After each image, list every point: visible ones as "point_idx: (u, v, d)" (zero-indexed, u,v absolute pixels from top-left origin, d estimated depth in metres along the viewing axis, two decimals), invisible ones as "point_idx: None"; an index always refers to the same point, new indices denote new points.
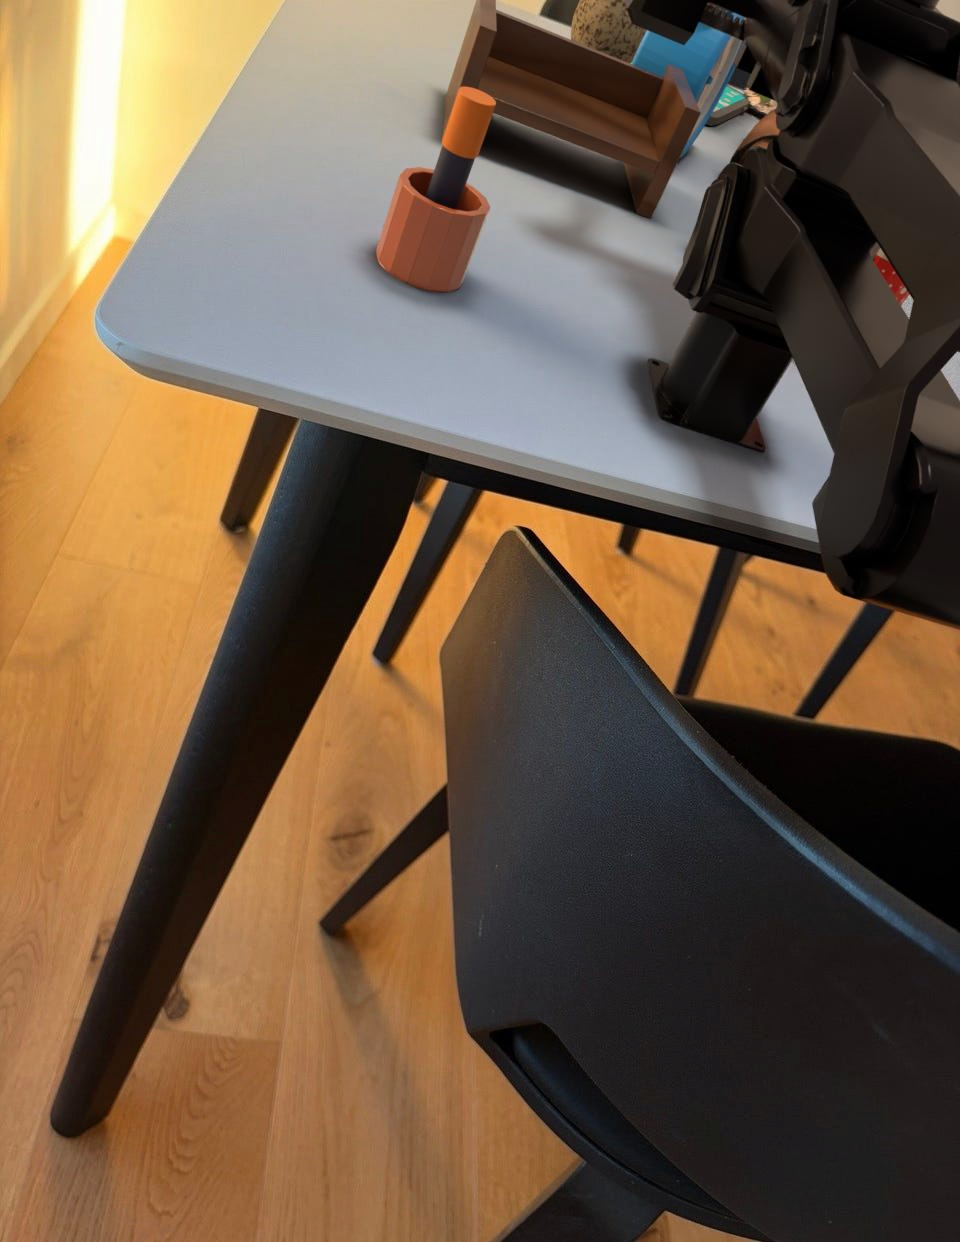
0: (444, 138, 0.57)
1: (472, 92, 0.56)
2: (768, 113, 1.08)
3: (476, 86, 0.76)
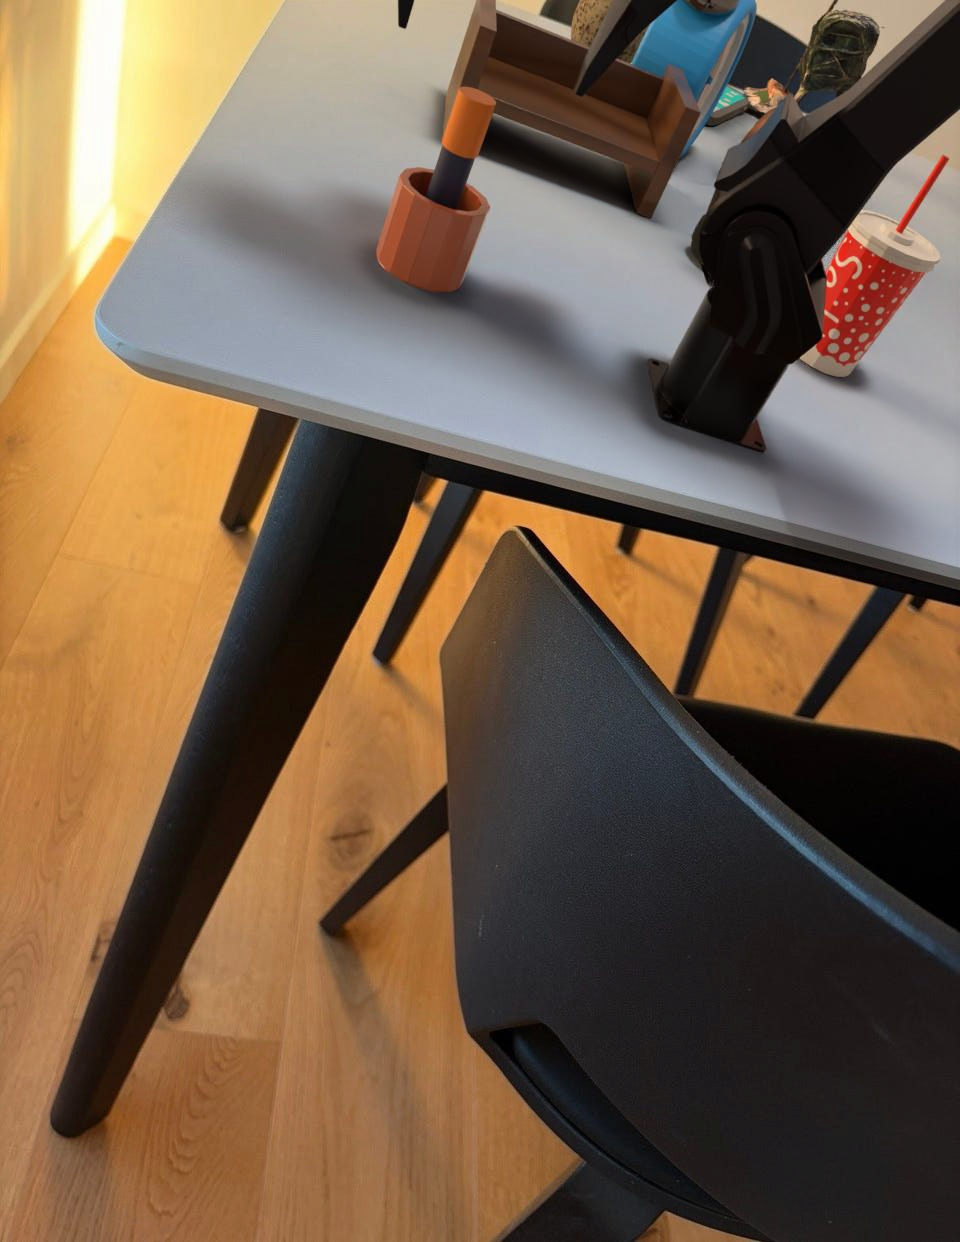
0: (444, 138, 0.57)
1: (472, 92, 0.56)
2: (767, 112, 1.08)
3: (476, 86, 0.76)
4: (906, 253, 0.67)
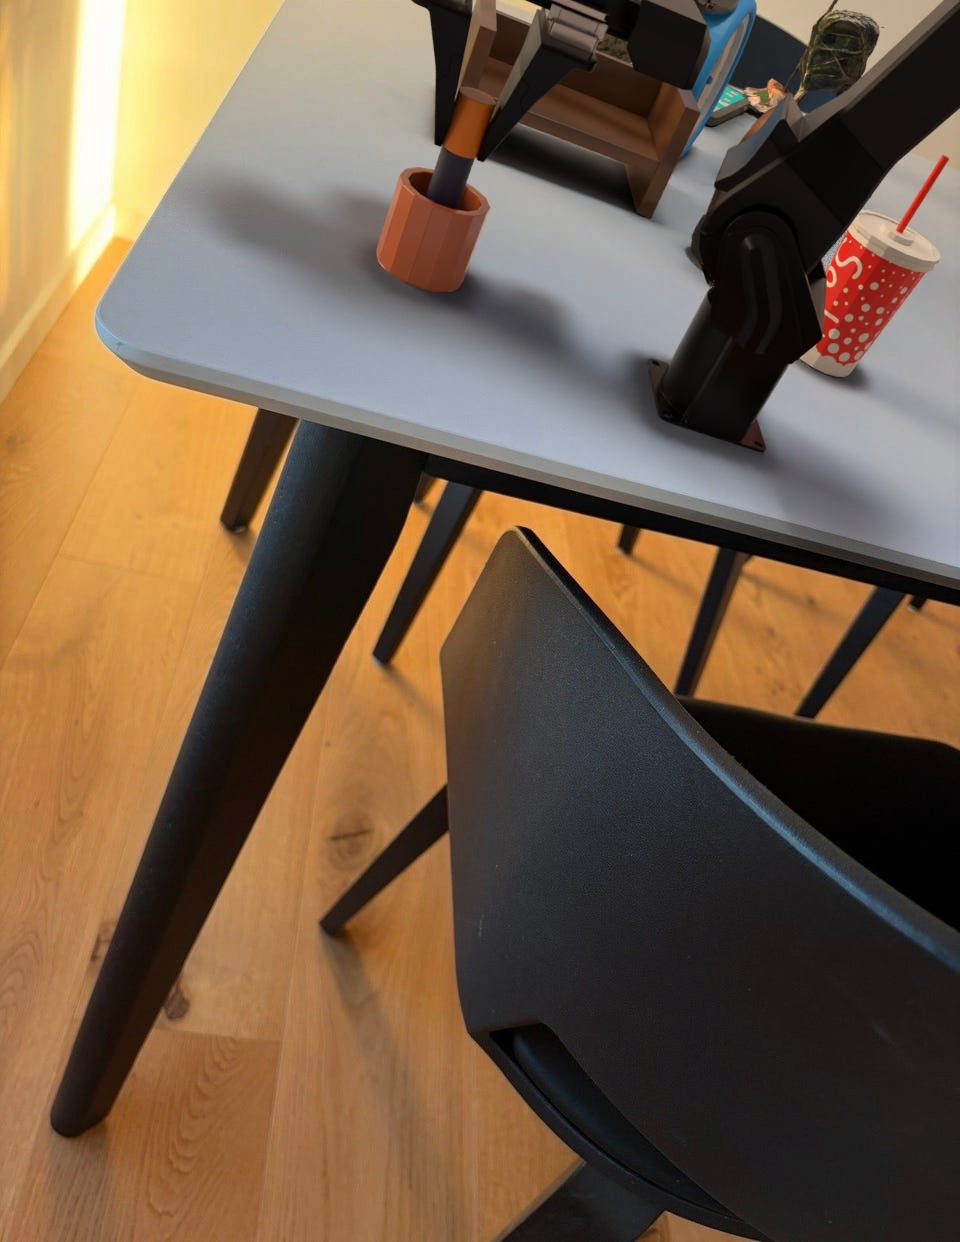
0: (444, 138, 0.57)
1: (472, 92, 0.56)
2: (766, 112, 1.08)
3: (476, 86, 0.76)
4: (906, 253, 0.67)
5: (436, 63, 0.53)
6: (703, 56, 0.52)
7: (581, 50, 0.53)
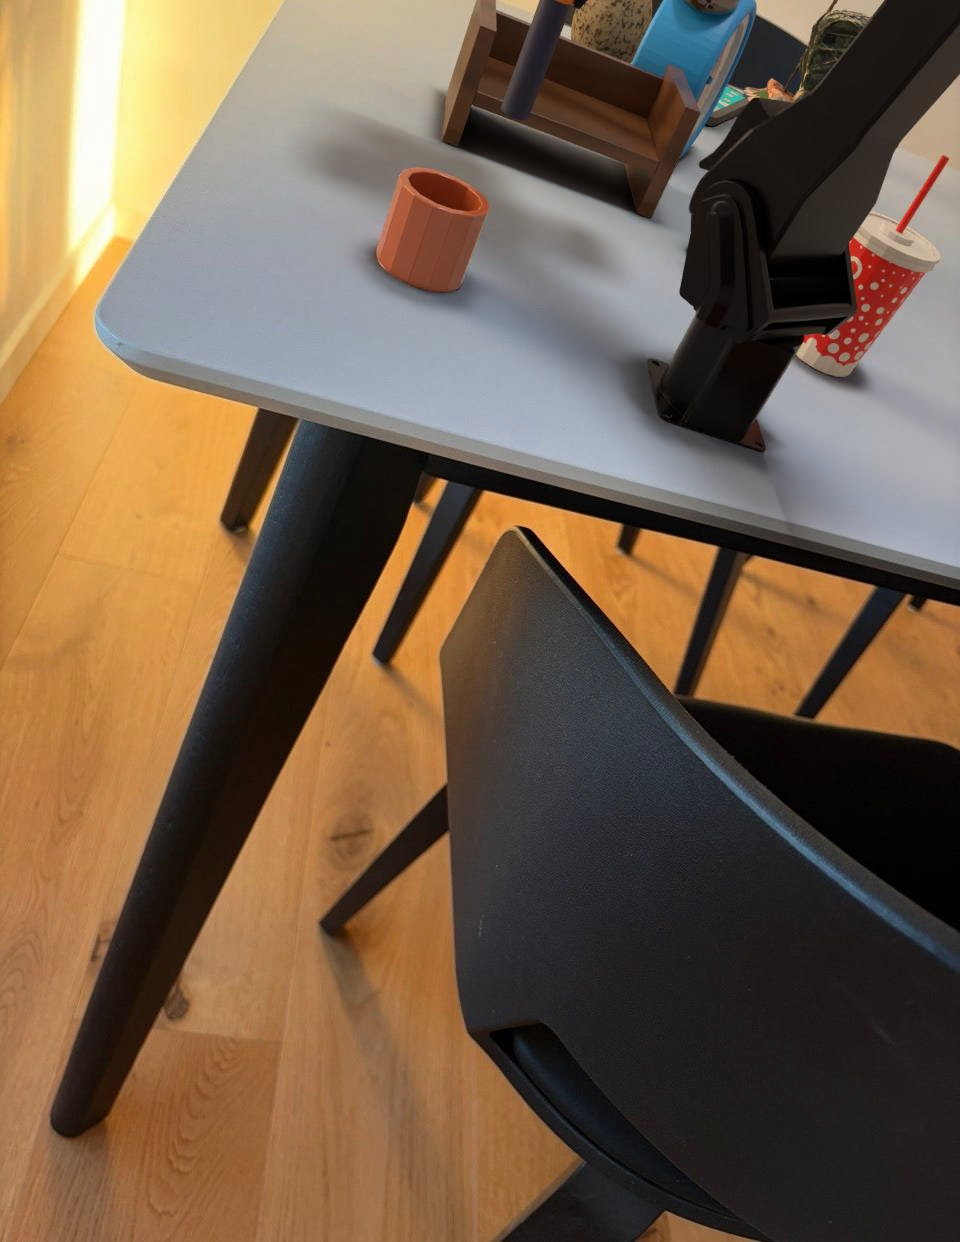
0: None
1: None
2: None
3: (476, 86, 0.76)
4: (906, 253, 0.67)
5: None
6: None
7: None
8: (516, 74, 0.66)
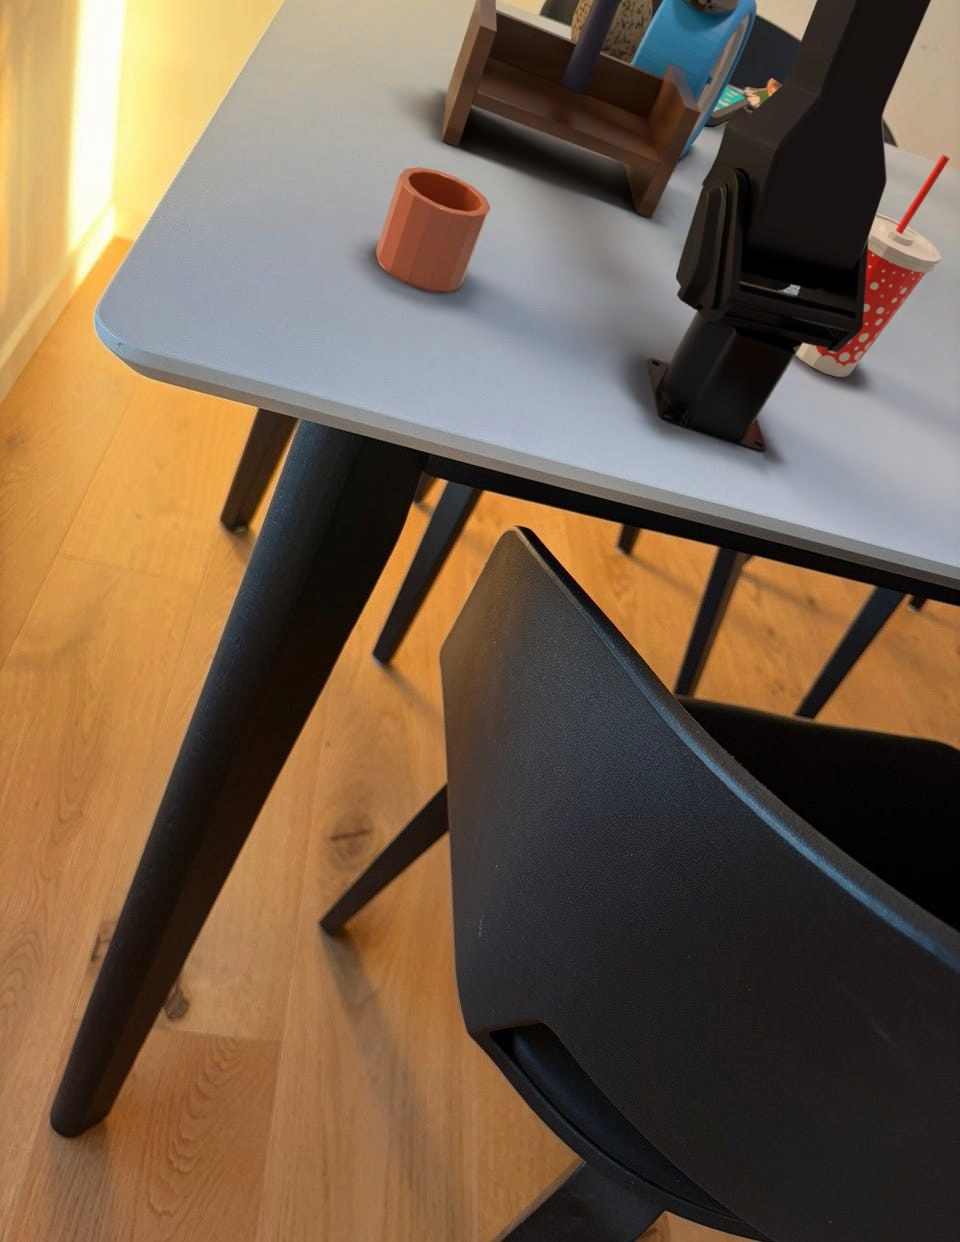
0: None
1: None
2: None
3: (476, 86, 0.76)
4: (906, 253, 0.67)
5: None
6: None
7: None
8: (575, 54, 0.79)
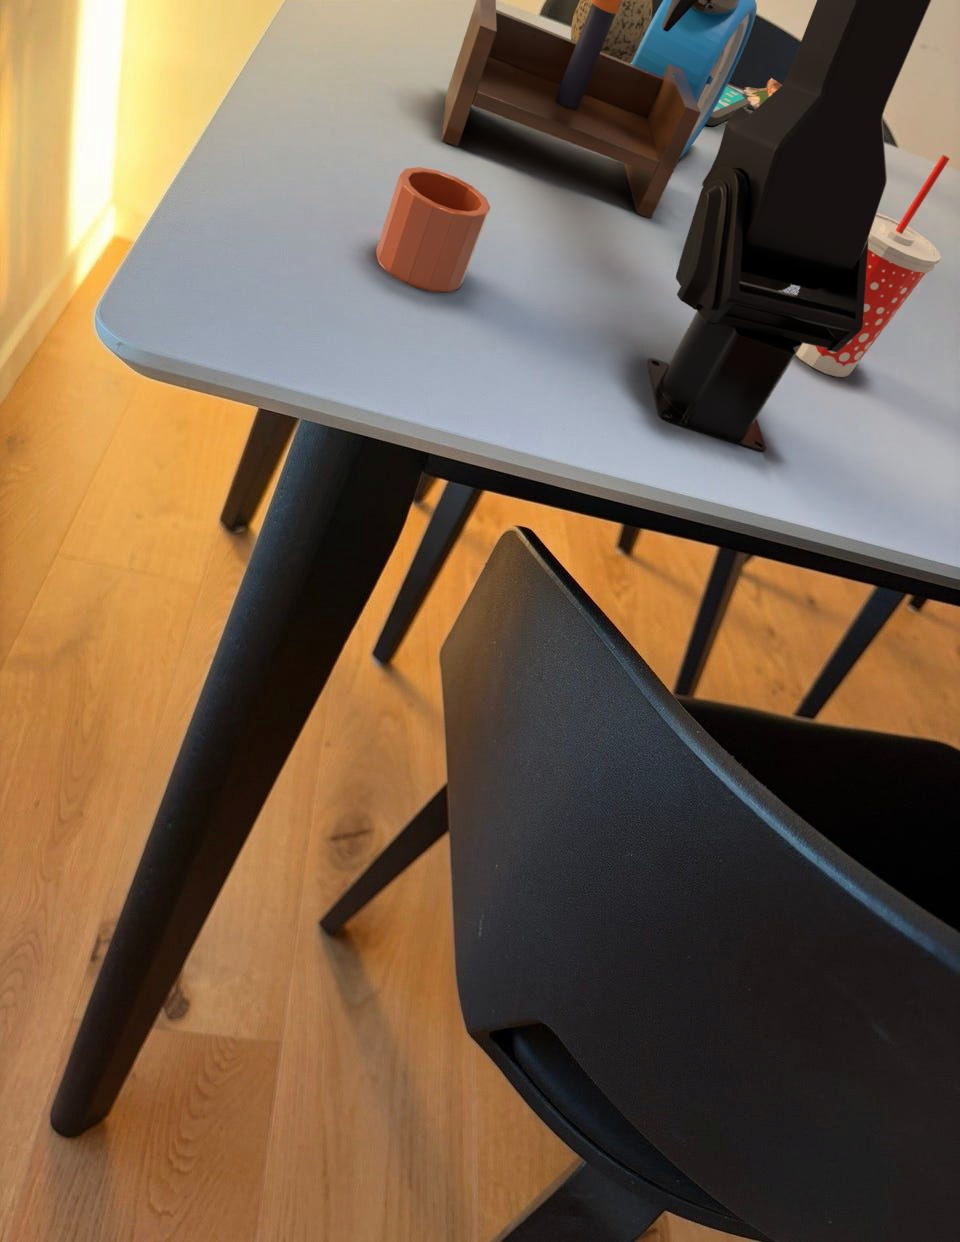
0: None
1: None
2: None
3: (476, 86, 0.76)
4: (906, 253, 0.67)
5: None
6: None
7: None
8: (569, 70, 0.80)
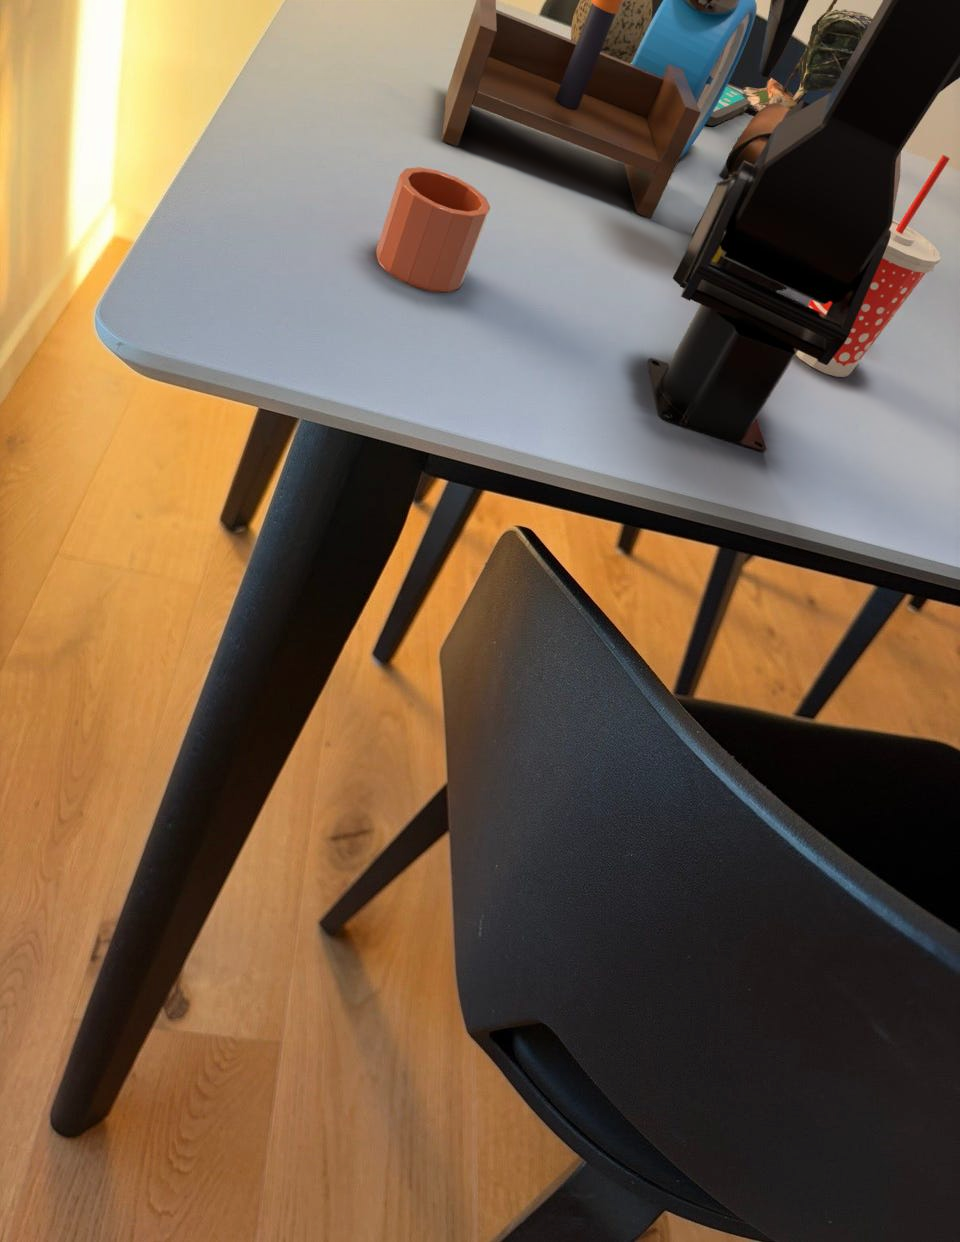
0: None
1: None
2: (761, 110, 1.08)
3: (476, 86, 0.76)
4: (906, 253, 0.67)
5: (784, 6, 0.65)
6: None
7: None
8: (569, 70, 0.80)
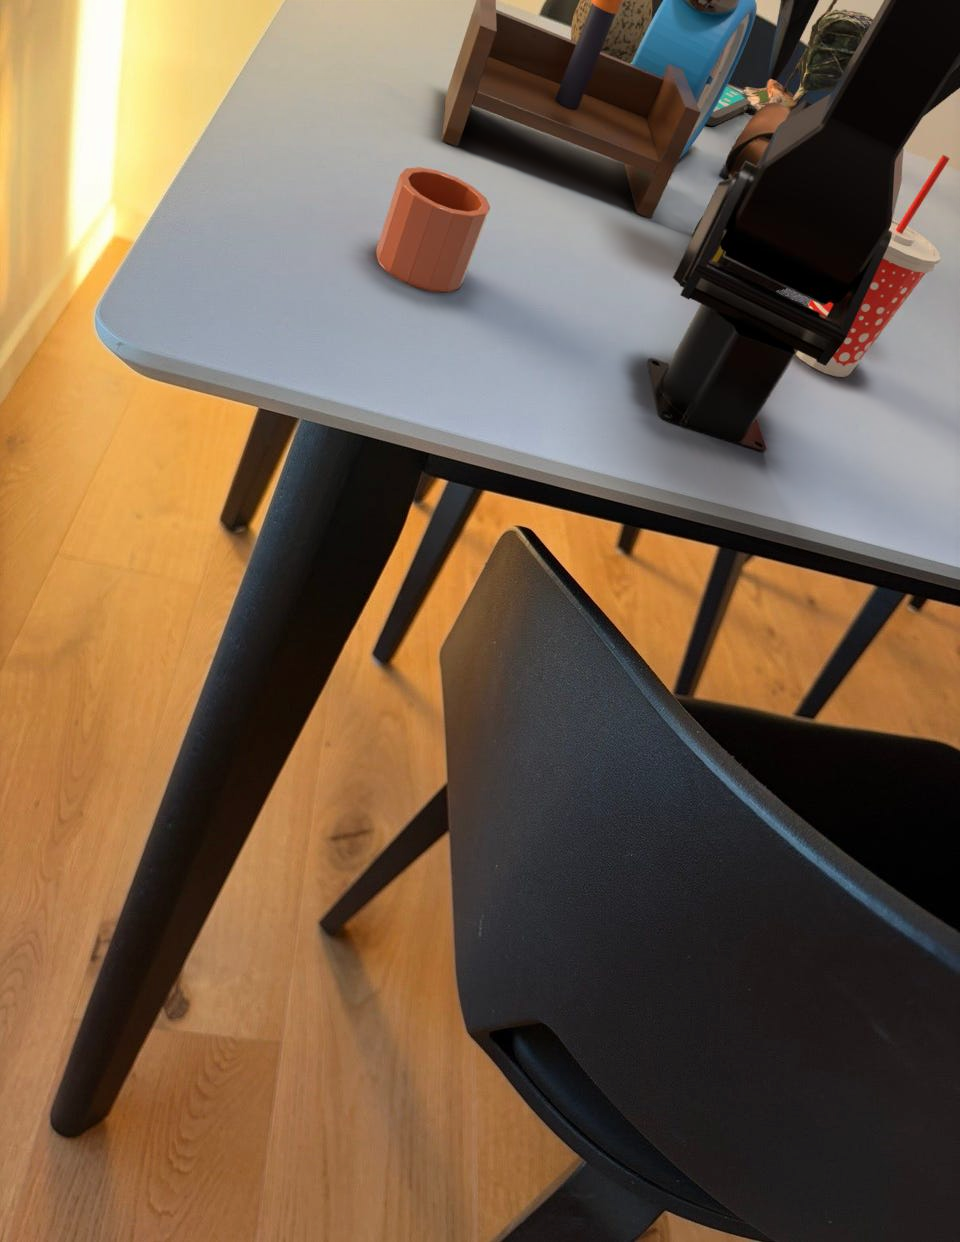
0: None
1: None
2: (760, 109, 1.08)
3: (476, 86, 0.76)
4: (906, 253, 0.67)
5: (793, 8, 0.65)
6: None
7: None
8: (569, 70, 0.80)
